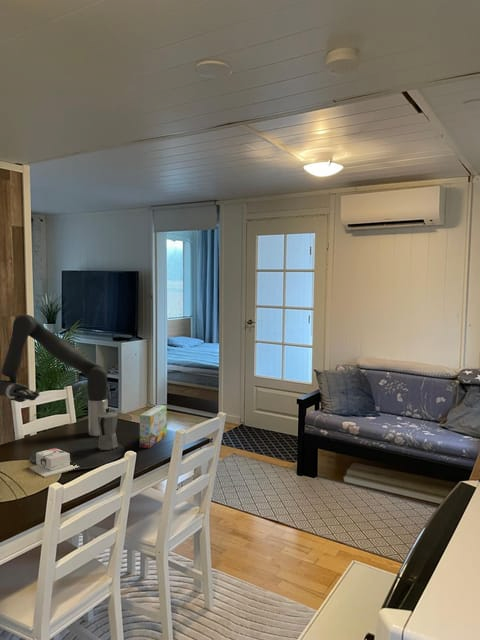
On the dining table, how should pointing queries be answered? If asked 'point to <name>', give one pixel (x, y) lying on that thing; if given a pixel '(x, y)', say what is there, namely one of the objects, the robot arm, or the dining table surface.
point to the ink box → (53, 459)
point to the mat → (47, 473)
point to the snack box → (153, 426)
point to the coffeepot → (107, 430)
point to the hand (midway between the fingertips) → (33, 397)
